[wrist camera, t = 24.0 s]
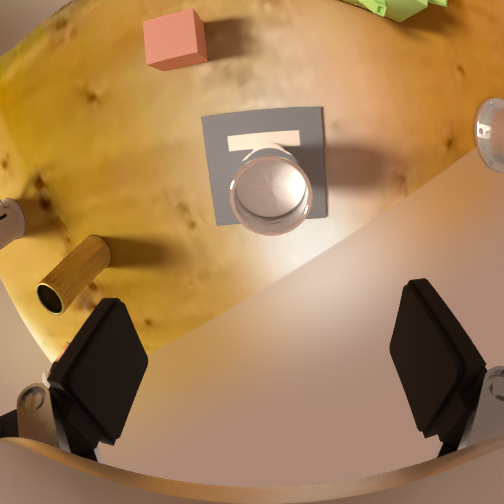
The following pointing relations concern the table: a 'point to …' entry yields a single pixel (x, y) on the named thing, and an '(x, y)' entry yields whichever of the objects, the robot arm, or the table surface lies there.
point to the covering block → (175, 40)
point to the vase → (73, 274)
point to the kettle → (396, 7)
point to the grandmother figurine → (46, 375)
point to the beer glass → (270, 191)
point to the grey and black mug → (10, 222)
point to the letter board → (254, 134)
